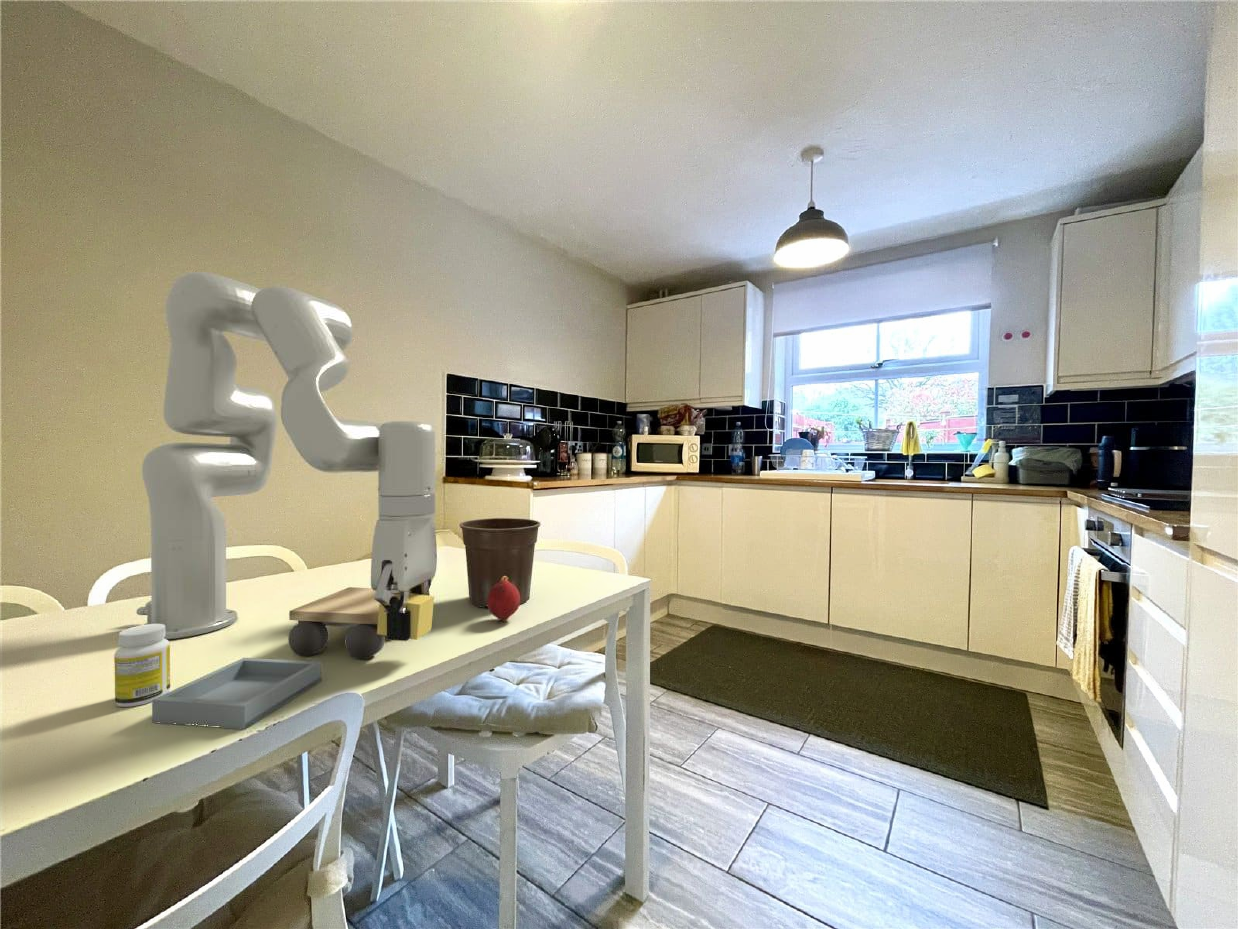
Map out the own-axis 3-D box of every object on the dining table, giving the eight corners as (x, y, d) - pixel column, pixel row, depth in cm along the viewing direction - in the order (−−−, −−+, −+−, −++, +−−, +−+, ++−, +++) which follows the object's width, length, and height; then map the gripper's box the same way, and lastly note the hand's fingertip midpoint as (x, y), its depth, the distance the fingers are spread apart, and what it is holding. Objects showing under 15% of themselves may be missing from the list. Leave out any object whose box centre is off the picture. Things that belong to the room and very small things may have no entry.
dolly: (288, 655, 70) (288, 611, 70) (349, 624, 83) (349, 587, 83) (377, 660, 68) (377, 615, 68) (425, 628, 81) (425, 589, 81)
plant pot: (556, 599, 99) (556, 522, 98) (489, 618, 86) (489, 530, 86) (509, 585, 109) (510, 515, 109) (444, 601, 97) (444, 522, 97)
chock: (376, 634, 67) (379, 599, 67) (393, 624, 71) (396, 591, 71) (416, 639, 66) (419, 604, 66) (431, 629, 70) (434, 596, 70)
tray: (152, 722, 52) (152, 700, 52) (243, 676, 63) (243, 657, 63) (244, 729, 51) (244, 706, 51) (321, 681, 62) (321, 662, 62)
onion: (511, 627, 82) (511, 581, 82) (481, 625, 83) (481, 579, 83) (525, 616, 88) (525, 573, 88) (496, 614, 89) (496, 572, 89)
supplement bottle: (140, 689, 59) (140, 622, 59) (180, 687, 60) (180, 621, 60) (102, 709, 55) (101, 636, 55) (146, 707, 55) (146, 635, 55)
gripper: (414, 502, 77) (414, 614, 77) (343, 513, 60) (344, 656, 61) (458, 502, 76) (458, 615, 76) (398, 514, 60) (399, 658, 60)
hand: (408, 632), depth 68 cm, fingers closed on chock, 4 cm apart
